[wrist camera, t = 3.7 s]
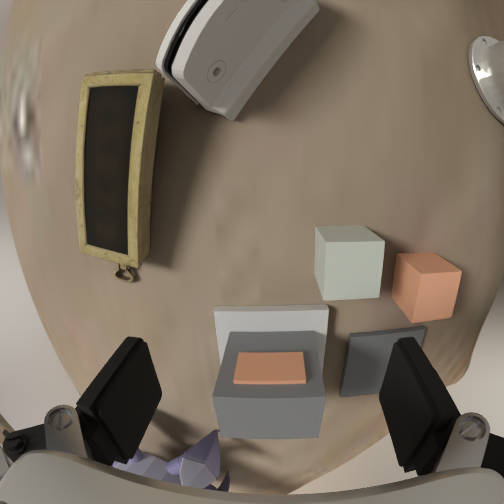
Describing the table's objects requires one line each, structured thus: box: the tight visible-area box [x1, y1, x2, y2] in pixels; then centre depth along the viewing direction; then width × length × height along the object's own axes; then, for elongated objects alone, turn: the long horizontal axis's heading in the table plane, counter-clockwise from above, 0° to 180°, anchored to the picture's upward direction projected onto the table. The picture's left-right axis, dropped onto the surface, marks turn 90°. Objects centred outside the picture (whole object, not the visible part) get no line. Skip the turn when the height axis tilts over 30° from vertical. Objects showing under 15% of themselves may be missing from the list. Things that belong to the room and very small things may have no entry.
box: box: [76, 69, 165, 282], centre depth 25 cm, size 8×22×5 cm, turn 170°
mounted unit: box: [213, 304, 329, 439], centre depth 26 cm, size 12×10×11 cm
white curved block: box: [156, 0, 320, 121], centre depth 18 cm, size 17×5×10 cm, turn 147°
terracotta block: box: [391, 252, 462, 323], centre depth 25 cm, size 5×5×6 cm
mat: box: [339, 326, 426, 397], centre depth 31 cm, size 10×10×1 cm
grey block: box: [315, 226, 385, 300], centre depth 25 cm, size 5×5×6 cm
